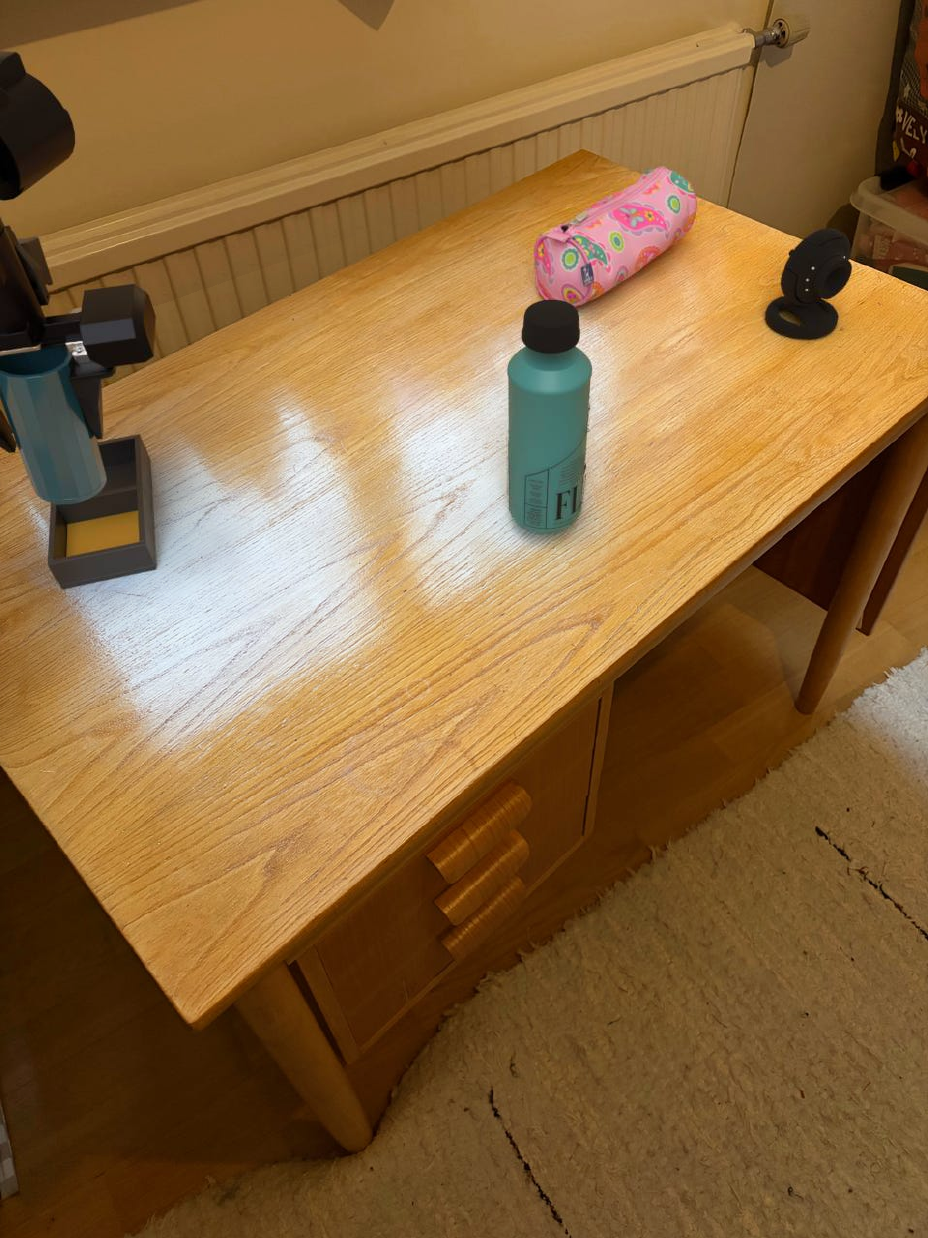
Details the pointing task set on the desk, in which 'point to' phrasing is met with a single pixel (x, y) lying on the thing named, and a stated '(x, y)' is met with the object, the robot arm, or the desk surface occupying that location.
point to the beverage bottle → (548, 419)
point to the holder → (107, 522)
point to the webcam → (812, 285)
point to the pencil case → (614, 237)
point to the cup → (50, 426)
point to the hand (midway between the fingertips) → (57, 442)
